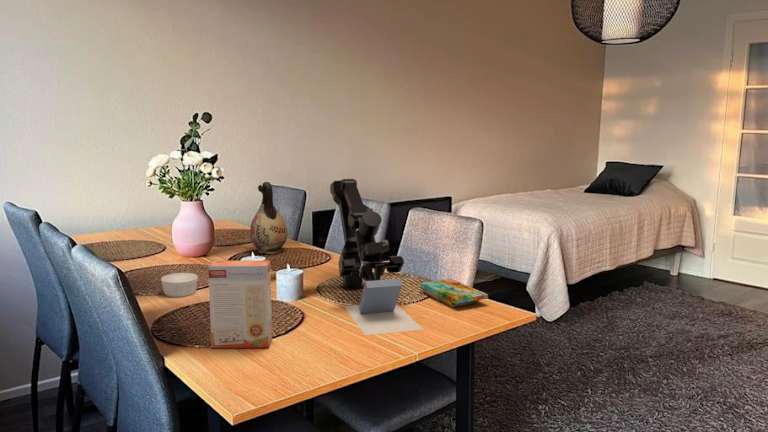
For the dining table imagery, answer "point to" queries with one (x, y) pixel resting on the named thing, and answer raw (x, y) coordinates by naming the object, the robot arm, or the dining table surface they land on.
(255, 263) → the cracker box
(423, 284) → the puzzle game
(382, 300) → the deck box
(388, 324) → the mat
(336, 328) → the dining table surface
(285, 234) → the ceramic jug
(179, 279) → the ramekin
